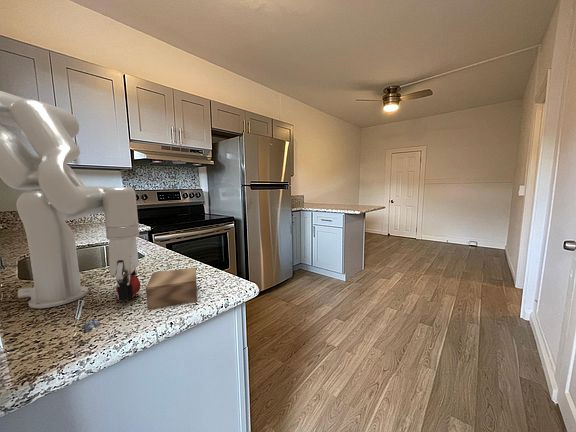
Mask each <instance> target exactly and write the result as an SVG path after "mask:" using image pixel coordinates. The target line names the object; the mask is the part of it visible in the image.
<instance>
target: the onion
mask: <svg viewBox="0 0 576 432" xmlns="http://www.w3.org/2000/svg"><path fill="white" fill-rule="evenodd" d="M124 274H127V272H126V273H125V272H124ZM124 278H126V280H127V276H124ZM130 284H132V292H133V297H135V296H136V295H137V294H138V293H139V291H140V289H141V281H140V279H139V278H138V276H137V277H135V276H133V275H131V274H130ZM115 291H116V294H118V287H117V284H116V286H115Z"/></svg>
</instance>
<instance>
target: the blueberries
mask: <svg viewBox="0 0 576 432" xmlns="http://www.w3.org/2000/svg"><path fill="white" fill-rule="evenodd" d="M100 325H101V322H100V321H99V320H97V319H91V318H90V319H89V320H87V321H85V323H83V325H81V330H83V334H87V333H89V332H91V331H93V330H95V329H97V328H98V327H99V326H100ZM73 331H74V329H72V330H71V332H73Z"/></svg>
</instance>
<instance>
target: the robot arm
mask: <svg viewBox="0 0 576 432" xmlns="http://www.w3.org/2000/svg"><path fill="white" fill-rule="evenodd" d="M3 125H6V126H11V127H17V128H18V129H19V130H20V132H21V133H22V134H23V136H24V137H25V139H26V140H27V141H28V144H30V146H31V147H32V149H33V150H34V152H35V153H36V154H34V153H33V152H31V151H30V149H28V146H26V145H25V143H24V141H22V139H20V138H19V137H18V136H17V135H16V134H15V133H13V132H12V131H11V130H9V129H8V128H7V127H5V126H3ZM79 132H80V124H79V121H78V120H77V118H76V117H75V116H74V114H73V113H71V112H70V111H69V110H67V109H64V108H61V107H60V106H59V107H58V106H55V105H53V104H49V103H47V102H43V101H39V100H36V99H32V98H31V99H29V98H25V97H22V96H18V95H15V94H11V93H10V92H9V93H8V92H6V91H3V90H0V179H1V181H3V183H4V184H6V185H7V186H8V187H10V188H11V189H14V190H18V191H19V190H21V191H25V192H23V193H21V194H20V196H18V198H17V200H16V210H17V214H18V216H19V218H20V221H21V223H22V225H23V228H24V231H25V235H26V239H27V247H28V252H29V259H30V265H31V266H30V267H31V273H32V279H33V285H34V286H33V287H24V288H19V289H18V290H17V298H18V299H22V298H27V297H29V298H30V299H29V300H28V302H27V303H28V307H29V308H32V309H48V308H53V307H58V306H62V305H63V306H64V305H67V304H69V303H73V302H75V301H77V300H80V299H82V298H83V297H85V296H86V295H88V293H89V288H88V287H87V286H86V285H81V276H80V269H79V260H78V251H77V244H76V238H75V234H74V232H73V229H71V227H70V226H69V225H68V223H67V222H66V221H71V220H77V219H83V218H86V217H88V216H90V215H98V214H103V215H104V225H105V234H106V240H108V241H109V242H108V262H109V264H108V265H109V276H110V277H112V278H113V277H115V280H116V285H117V287H118V293H117V296H118V301H125V300H127V301H128V300H132V299H133V298H134V296H133V292H132V284H130V274H131V275H133V276H135V277H137V278H138V271H137V267H138V265H139V253H138V244H137V239H136V238H137V237H140V228H139V227H140V226H139V217H138V215H139V214H138V206H137V205H138V204H137V195H136V191H135V189H134V188H133V187H129V186H112V187H111V186H109V187H107V186H91V185H89V186H87V185H84V183H83V182H82V181H81V179H80V178H79V176H78V175H77V174H76V173H75V172H74V170H73V169H72V167H71V166H69V165H68V164H69V163H72V162H73V161H75V160H76V159H77V158H78V157H79V156H80V153H81V151H80V149H79V146H78V145H77V144H76V142H75V141H74V139H73V138H75V137H76V136H77V135H79ZM126 272H127V274H125V273H126ZM124 276H127V280H126V278H124Z"/></svg>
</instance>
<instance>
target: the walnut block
mask: <svg viewBox="0 0 576 432" xmlns="http://www.w3.org/2000/svg"><path fill="white" fill-rule="evenodd" d="M197 285H198V284H197V268H196V266H195V267H188V268H180V269H171V270H162V271H154V272H152V274H151V276H150V278H149V280H148V282H147V284H146V285H145V295H146V296H145V297H146V307H147V310H149V311H150V310H154V309H159V308H167V307H172V306H179V305H184V304H191V303H196V302H197V300H198V292H197V291H198V289H197V288H198V286H197Z"/></svg>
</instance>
